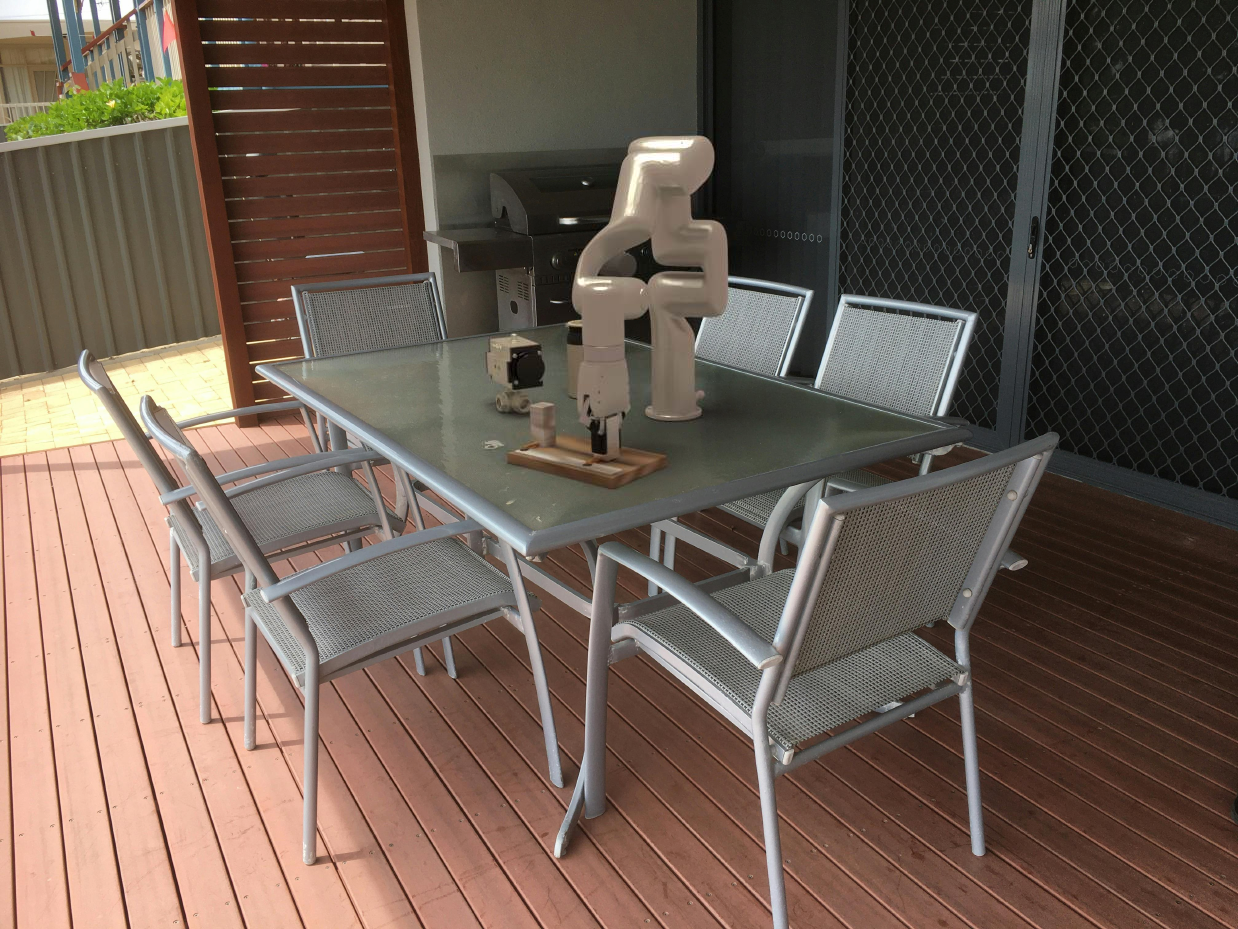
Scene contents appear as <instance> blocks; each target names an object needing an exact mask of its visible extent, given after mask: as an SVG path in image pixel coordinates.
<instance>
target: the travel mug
mask: <svg viewBox="0 0 1238 929" xmlns="http://www.w3.org/2000/svg"><path fill="white" fill-rule="evenodd" d="M566 325H567V326H568V330H569V331H568V333H567V335H566V351H567V352H566V353H567V354H566V355H567V376H568V377H567V381H568V396H569V397H570V398H573V399H576V400H577V393H578V377H579V370H580V365H581V363H582V362H583V338H582V319H577V320H570V321H568V322H567V323H566Z"/></svg>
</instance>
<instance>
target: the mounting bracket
mask: <svg viewBox="0 0 1238 929" xmlns="http://www.w3.org/2000/svg"><path fill="white" fill-rule="evenodd" d="M487 441H488V442H486V441H484V442H485V444H492V445H488V446H485V448H484V450H486V449H487V450H486V451H494V450H498V449H499V447H503V446H504V447H505V444H503V443H502V442H500V441H499V440H498V439H497V440H495V439H494V440H492V439H491V440H487ZM482 444H483V443H482ZM498 445H499V446H498ZM489 447H490V448H489Z"/></svg>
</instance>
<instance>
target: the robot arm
mask: <svg viewBox="0 0 1238 929" xmlns="http://www.w3.org/2000/svg"><path fill="white" fill-rule="evenodd" d="M712 144H713V143H712V142H711V141H710V140H709V139H708V138H707V137H705V136H702V135H679V136H677V135H675V136H672V135H671V136H670V135H667V136H665V135H661V136H659V135H658V136H646V137H645V136H644V137H640V138H637V139H635V140H633V141H631V143H630V144H629V146H628V149H627V156H625V158H624V160H623V161H622V163H621V167H620V171H619V176H618V179H617V180H618V182H617V187H616V191H615V196H614V201H613V207H612V210H611V216H610V220H609V222H608V224H607V225H606V226H604V227H603V228H602V229H601V230H600V231H599V232H598V233H597V234H595V236H594V237H593V238H592V239H591V240H590V241H589V243H587V245H586V246H585V248H584V249H583V250H582V252H581V254H580V256H579V258H578V262H577V266H576V269H575V275H574V280H573V284H572V291H571V292H572V294H571V300H572V305H573V309H574V310H575V312H576V313H577V314H579V315H580V316H581V320H582V338H583V362H582V363H581V365H580V370H579V377H578V393H577V399H576V400H577V403H576V404H577V405H576V406H577V413H578V415H579V419H578V423H579V424H580V425H583V426H585V427H586V428H587V429H588V431H587V432H588V433H590V439H591V451H592V453H596V454H600V455H606V453H607V450H606V434H604V421H605V417H607V416H610V415H613V414H615V415H619V449H621V446H622V440H621V439H622V433H621V431H622V427H623V425H624V420H625V417H626V415H627V414H628V412H630V410H631V408H632V407H631V404H630V397H631V396H630V395H631V394H630V380H629V372H628V371H629V370H628V364H627V360H626V357H625V356H626V354H625V352H626V348H625V346H626V345H625V320H634V319H638V318H640V317H642V316H643V315H644V314H645V313H646V312H647V310H648V311H649V318H650V331H651V332H650V333H651V335H650V336H651V405H648V406H647V407H646V408H645V410H644V412H645V413H644V414H645V415H646V417H648V418H650V419H653V420H656V421H664V422H665V421H667V422H669V421H670V422H679V421H689V420H692V419H697V418H698V417H700V416H701V415H702V407H700V406H698V405H697V402H698V401H699V400H703V399H704V398H705V396H706V394H705V392H704V391H703V390H698V391H695V390H696V389H695V388H696V387H695V386H696V385H695V384H696V383H695V380H696V378H695V375H696V372H695V371H696V368H695V367H696V366H695V365H696V361H695V359H696V337H695V332H694V331H693V329H692V327H691V325H690V324H689V323H688V321H687V320H686V318H708V319H709V318H713V319H714V318H718V317H721V316H722V315H723V314H724V313H725V311H726V309H727V306H728V300H729V260H728V257H729V256H728V251H729V250H728V237H727V233H726V230H725V228H724V226H723V225H722V223H720V222H718V221H716V220H712V219H693V218H692V208H691V207H692V204H691V195H692V194H693V193H694V192H696V191H697V190H699V188H700V187H701V186H702V185H703V184H704V183H705V182H706V181H707V180H708V178H709V176H710V175H711V173H712V171H713V168H714V164H715V150H714V147H713V145H712ZM649 239H651V250H652V251H651V252H652V256H653V259H654V260H655V262H656V263H658V264H659V265H663V266H671V267H697V268H698V267H700V268H701V269H702V271H699V272H698V271H682V270H681V271H678V270H677V271H675V270H674V271H673V270H670V271H660V272H658V273H656V274H654V275H652V276H651V277H650V278H649V280H648V283H647V284H646V283H645V281H643V280H642V279H640V278H636V277H630V278H629V277H608V276H603V275H602V276H601V275H600V276H598V274H599V270H600V269H601V267H602V266H603V265H604V264H605V262H607V261H608V260H609V259H610V258H612V257H613V256H615V255H617V254H618V253H621V252H623V253H624V252H625V251H627V250H629V249H632V248H634V247H636V246H638V245H640V244H642V243H644V242H645V243H646V242H647V241H648V240H649ZM595 420H598V425H597V424H596V422H595Z"/></svg>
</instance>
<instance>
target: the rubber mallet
mask: <svg viewBox="0 0 1238 929" xmlns="http://www.w3.org/2000/svg"><path fill="white" fill-rule="evenodd" d="M636 271H637V260H636V258H635V257H634V256H633V255H632V254H630V253H627V252H624V251H623V252H621V253H618V254H617V255H615V256H613V257H612V258H610V259H609V260H608V261H607V262H605V264H604V265H603V266H602V267H601V269H600V270H599V272H598V274H600V275H602V276H604V277H629V278H632V277H633V276H634V275H635V273H636Z"/></svg>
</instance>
